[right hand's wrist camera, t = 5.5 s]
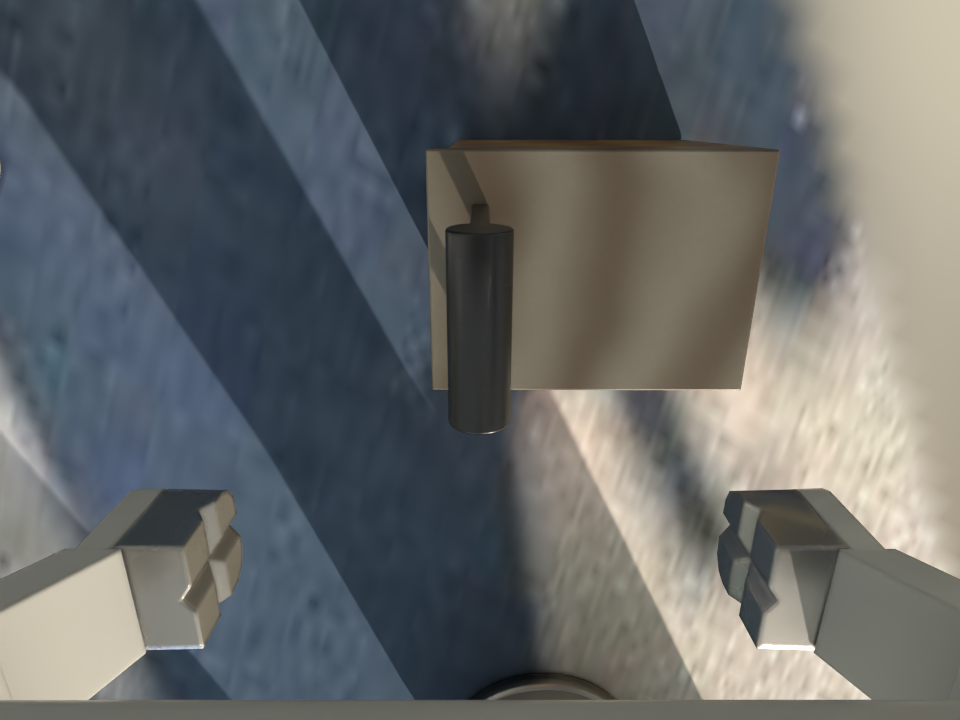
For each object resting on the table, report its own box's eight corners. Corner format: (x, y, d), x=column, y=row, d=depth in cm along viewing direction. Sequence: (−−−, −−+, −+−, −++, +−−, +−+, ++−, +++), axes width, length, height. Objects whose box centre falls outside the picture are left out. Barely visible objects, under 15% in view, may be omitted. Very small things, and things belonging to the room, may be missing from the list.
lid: (434, 379, 29) (413, 487, 21) (427, 147, 26) (400, 162, 17) (730, 379, 29) (834, 488, 21) (766, 148, 26) (911, 162, 17)
